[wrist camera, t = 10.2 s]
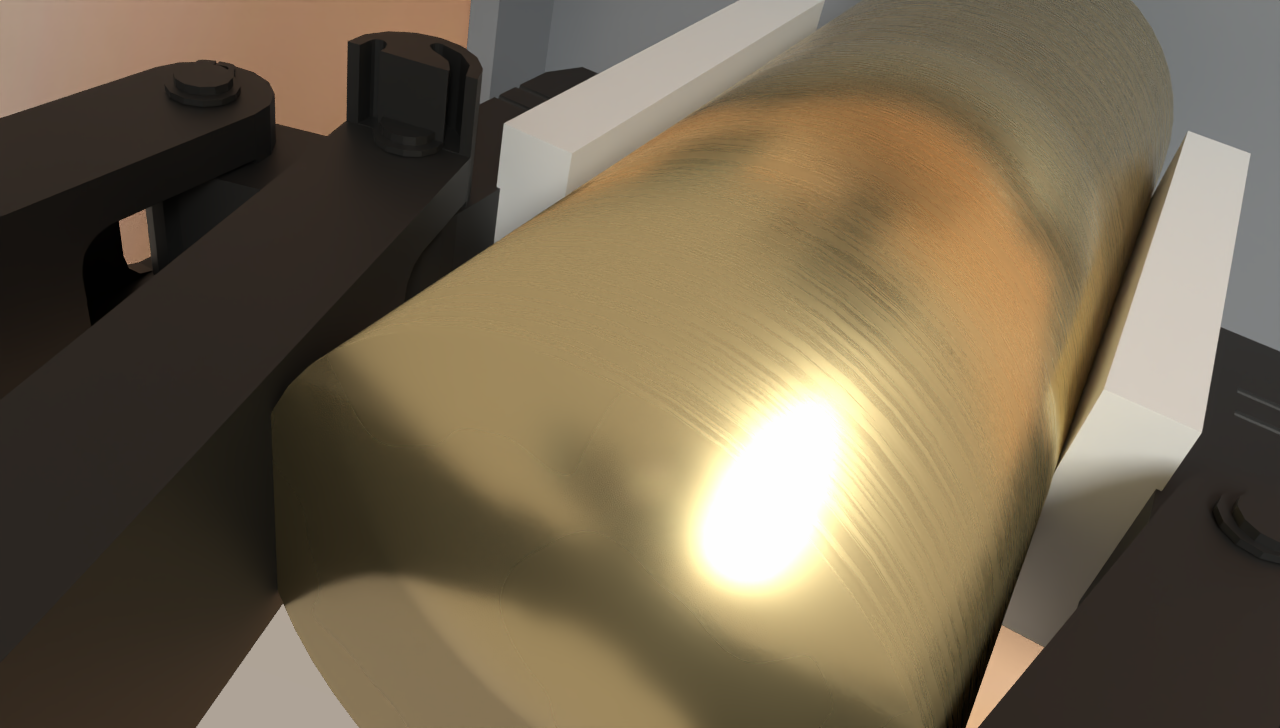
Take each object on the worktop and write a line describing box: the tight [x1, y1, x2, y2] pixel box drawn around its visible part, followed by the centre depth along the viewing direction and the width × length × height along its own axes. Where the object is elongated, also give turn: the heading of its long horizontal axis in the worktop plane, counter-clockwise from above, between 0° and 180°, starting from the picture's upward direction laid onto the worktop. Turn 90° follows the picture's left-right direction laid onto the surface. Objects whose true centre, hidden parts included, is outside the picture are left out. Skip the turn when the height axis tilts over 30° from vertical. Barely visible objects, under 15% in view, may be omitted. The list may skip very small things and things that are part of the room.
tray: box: [467, 0, 1280, 351], centre depth 17 cm, size 18×19×2 cm
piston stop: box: [271, 0, 1173, 728], centre depth 11 cm, size 5×5×12 cm
